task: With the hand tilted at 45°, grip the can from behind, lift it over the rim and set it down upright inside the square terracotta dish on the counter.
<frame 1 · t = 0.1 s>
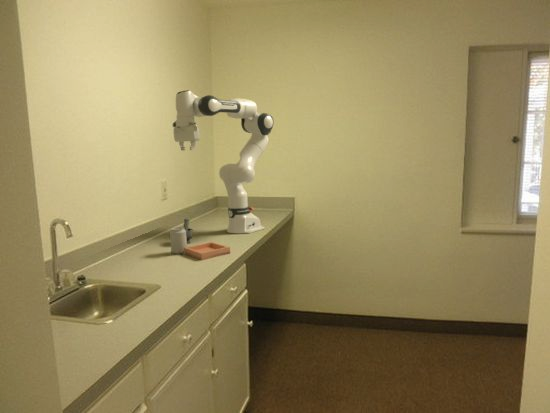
hand: (187, 150, 216), 48 cm above the counter, tool pointing down, fingers open, 8 cm apart
can: (179, 253, 200), on the counter
dish: (207, 253, 196), on the counter
mortar and pestle: (184, 243, 220), on the counter
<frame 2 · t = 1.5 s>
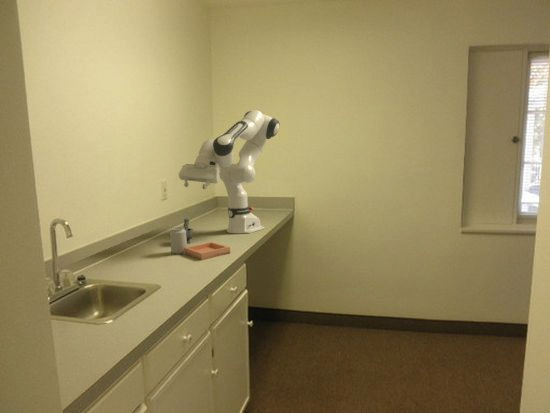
hand: (194, 187, 204), 30 cm above the counter, tool tilted 45°, fingers open, 8 cm apart
nothing on the counter moved.
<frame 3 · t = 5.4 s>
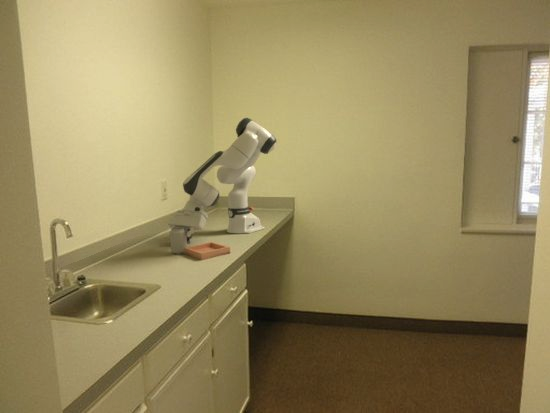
hand: (179, 235, 199), 8 cm above the counter, tool tilted 45°, fingers open, 8 cm apart
nothing on the counter moved.
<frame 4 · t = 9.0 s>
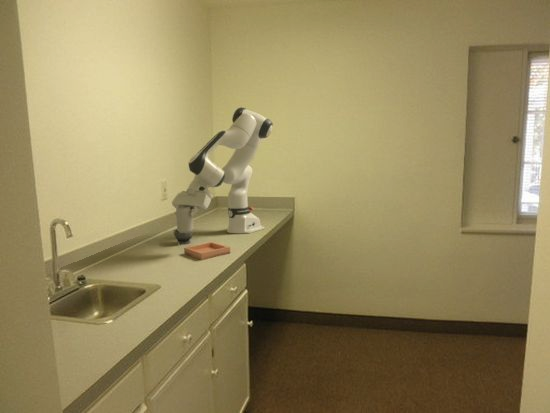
hand: (183, 215, 196), 18 cm above the counter, tool tilted 45°, fingers closed on can, 7 cm apart
can: (185, 232, 198), point 10 cm above the counter, touching gripper
everything else where it was.
when the fingers open (10 cm above the counter, at t = 12.5 s): can stays where it is, resting on dish.
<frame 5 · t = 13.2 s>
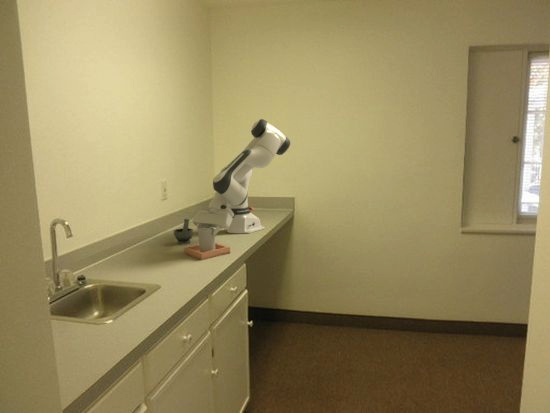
hand: (205, 233, 195), 10 cm above the counter, tool tilted 45°, fingers open, 8 cm apart
can: (207, 252, 196), point 1 cm above the counter, touching dish, gripper
everything else where it was.
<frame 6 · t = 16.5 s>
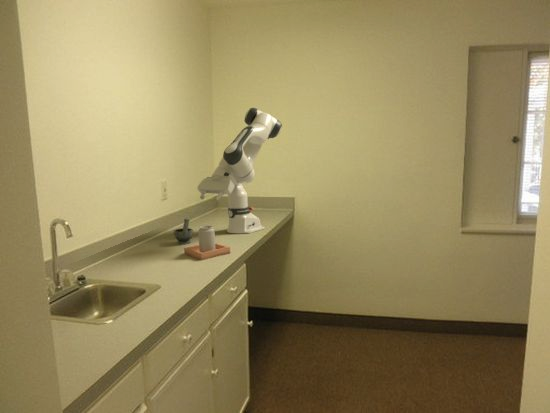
hand: (208, 199, 206), 24 cm above the counter, tool tilted 45°, fingers open, 8 cm apart
can: (207, 252, 196), point 1 cm above the counter, touching dish
everything else where it was.
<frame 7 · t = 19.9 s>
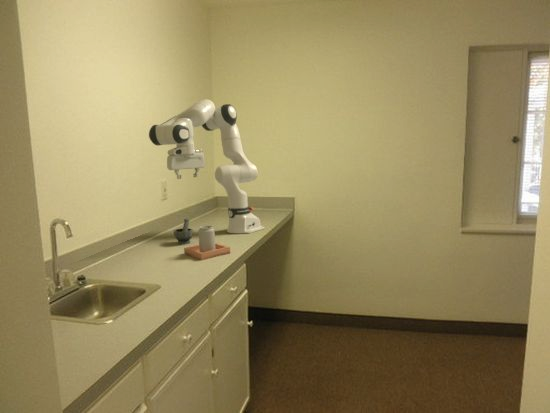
hand: (187, 177, 213), 34 cm above the counter, tool pointing down, fingers open, 8 cm apart
nothing on the counter moved.
at the end: can inside the target area on the dish (0.3 cm from its centre), point 0.8 cm above the dish's base; can tilted 0°; the gripper is holding nothing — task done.
